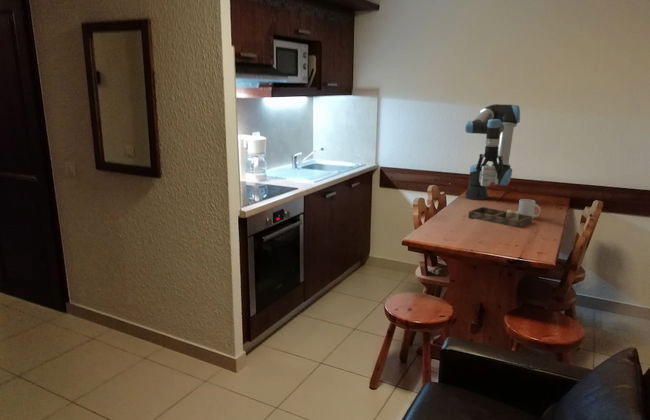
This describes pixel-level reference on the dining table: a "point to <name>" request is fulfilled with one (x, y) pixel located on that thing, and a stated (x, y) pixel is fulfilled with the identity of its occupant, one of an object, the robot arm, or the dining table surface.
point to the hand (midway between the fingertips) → (488, 182)
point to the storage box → (498, 217)
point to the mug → (528, 207)
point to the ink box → (488, 176)
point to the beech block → (512, 215)
